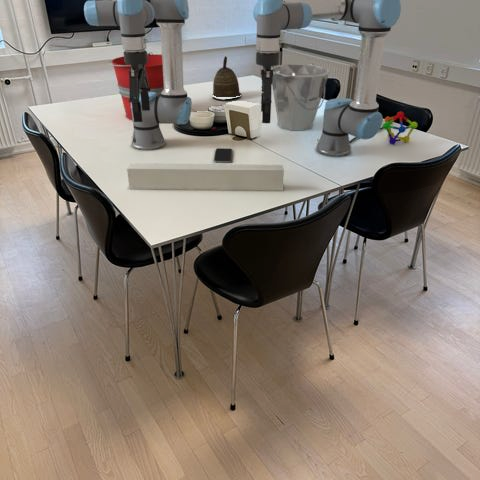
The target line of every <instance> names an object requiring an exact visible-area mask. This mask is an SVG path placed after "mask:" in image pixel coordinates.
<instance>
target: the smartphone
mask: <svg viewBox="0 0 480 480" xmlns="http://www.w3.org/2000/svg"><path fill="white" fill-rule="evenodd" d="M232 152H233V148H231V147H230V148H229V147H227V148H224V147H223V148H222V147H220V148H219V147H218V148H216V149H215V152H214V159H213V162H215V163H231V162H232V155H233V153H232Z"/></svg>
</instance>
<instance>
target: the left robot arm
mask: <svg viewBox="0 0 480 480" xmlns="http://www.w3.org/2000/svg"><path fill="white" fill-rule="evenodd" d="M189 9H190V8H189V2H188V0H86V2H84V5H83V12H84V13H83V14H84V18H85V21H86V22H87V24H89V26H95V27H119V28H120V37H121V45H122V50H123V56H124V61H125V63H126V64H128V65H129V64H130V65H131V70H129V95H130V99H129V103H131V111H132V118H133V120H132V125H133V132H132V135H131V138H130V140H131V147H132V148H134V149H135V150H141V151H151V150H153V151H154V150H157V149H161V148H163V147H164V146H165V144H166V140H165V137H164V135H163V132H162V130H161V127H160V124H161V125H163V124H165V125H167V124H168V125H177V126H178V125H186V124H188V122H189V121H190V118H191V113H192V105H193V104H192V103H193V102H192V98H191V97H189V96H188V92H187V90H185V88H184V87H185V86H184V63H183V62H184V61H183V36H182V34H183V33H182V29H183V28H184V26H185V25H186V20H188V19H189V18H190V17H189V16H190V13H189V12H190V10H189ZM154 20H155V21H156V25H157V26H158V27H159V28H160V44H161V45H160V46H161V55H162V64H163V82H164V89H163V91H162V92H161V97H158V96H157V94H156V93H155V92H147V91H150V88H149V84H148V79H147V74H146V70H145V64H146V63H147V62H148V57H147V53H148V51H147V50H146V49H147V43H148V39H147V38H146V28H145V27H147V26H149V25H150V24H151V23H153V21H154ZM140 89H141V91H142V92H140Z"/></svg>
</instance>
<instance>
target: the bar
mask: <svg viewBox="0 0 480 480" xmlns="http://www.w3.org/2000/svg"><path fill="white" fill-rule="evenodd" d="M126 171H127V178H128V179H127V180H128V187H129V190H193V191H196V190H197V191H198V190H199V191H273V192H274V191H277V192H278V191H280V192H281V191H283V190H284V175H285V169H284V165H283V164H250V163H249V164H247V163H246V164H245V163H244V164H243V163H242V164H240V163H239V164H238V163H237V164H236V163H154V162H153V163H152V162H151V163H149V162H146V163H145V162H143V163H140V162H139V163H138V162H136V163H135V162H131V163H129V165H128V166H127V168H126Z"/></svg>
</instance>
